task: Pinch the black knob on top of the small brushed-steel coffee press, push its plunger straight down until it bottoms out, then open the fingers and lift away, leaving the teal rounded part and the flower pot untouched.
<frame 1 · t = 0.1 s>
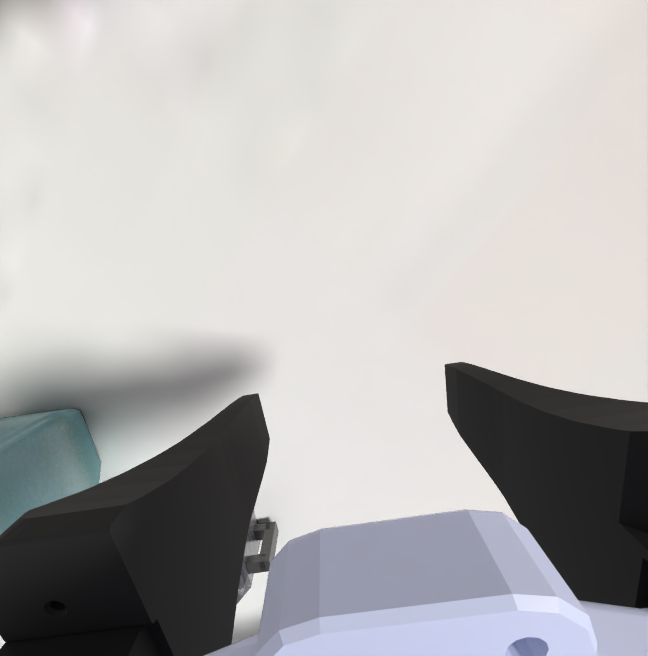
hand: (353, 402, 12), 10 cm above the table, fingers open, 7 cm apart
flower pot: (64, 437, 24), on the table
press pot: (214, 529, 26), on the table
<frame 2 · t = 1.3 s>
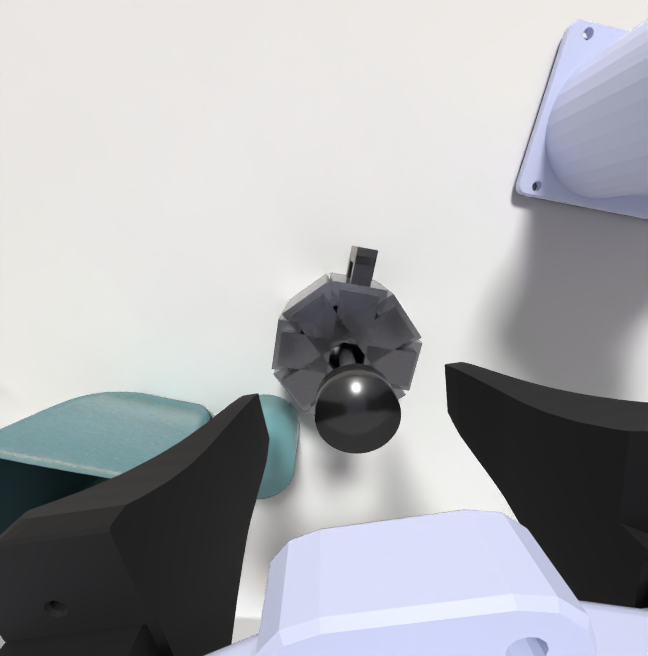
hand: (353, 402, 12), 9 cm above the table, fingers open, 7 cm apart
plunger: (350, 378, 14), point 7 cm above the table, slide at 0.0 cm
flower pot: (169, 425, 22), on the table
press pot: (341, 334, 20), on the table
teal rounded part: (267, 423, 22), on the table
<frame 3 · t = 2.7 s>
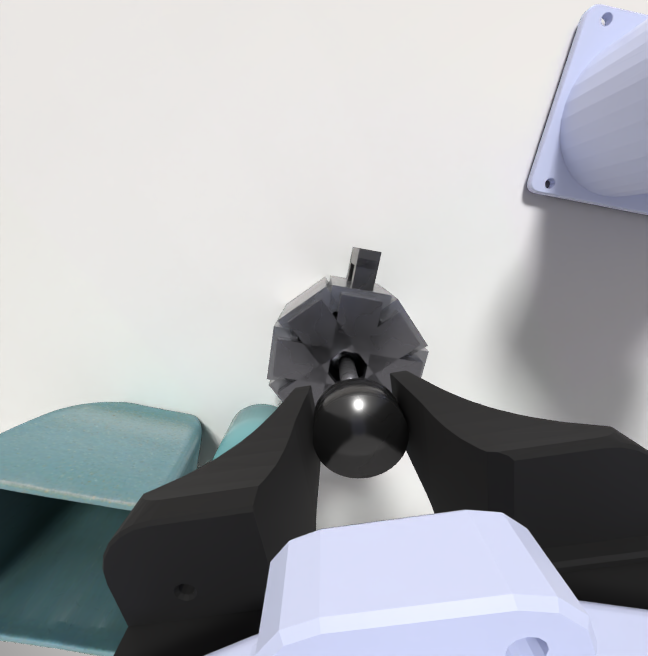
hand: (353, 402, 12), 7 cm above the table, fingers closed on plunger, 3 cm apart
plunger: (351, 391, 12), point 7 cm above the table, slide at 0.0 cm, touching gripper
flower pot: (160, 436, 21), on the table
press pot: (341, 340, 19), on the table
teal rounded part: (263, 434, 21), on the table
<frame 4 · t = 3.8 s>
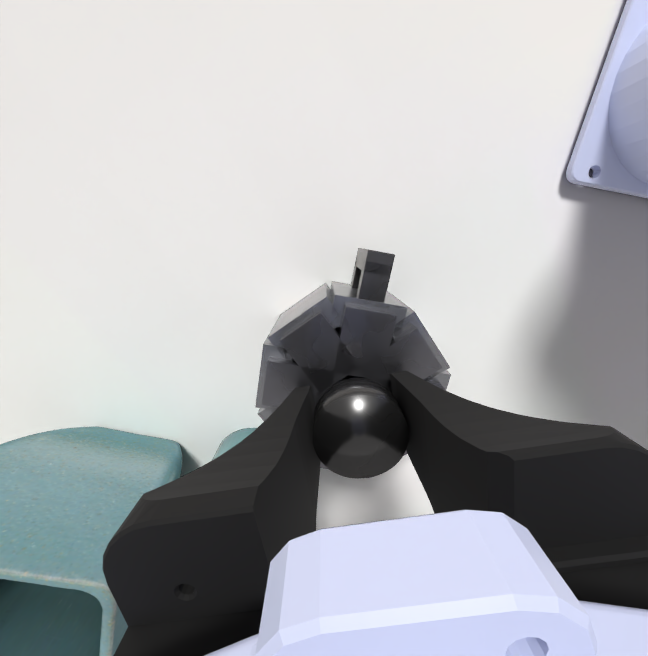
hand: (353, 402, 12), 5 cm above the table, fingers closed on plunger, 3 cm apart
plunger: (351, 391, 12), point 4 cm above the table, slide at 2.7 cm, touching gripper
flower pot: (137, 463, 18), on the table
press pot: (345, 356, 16), on the table
teal rounded part: (255, 461, 18), on the table
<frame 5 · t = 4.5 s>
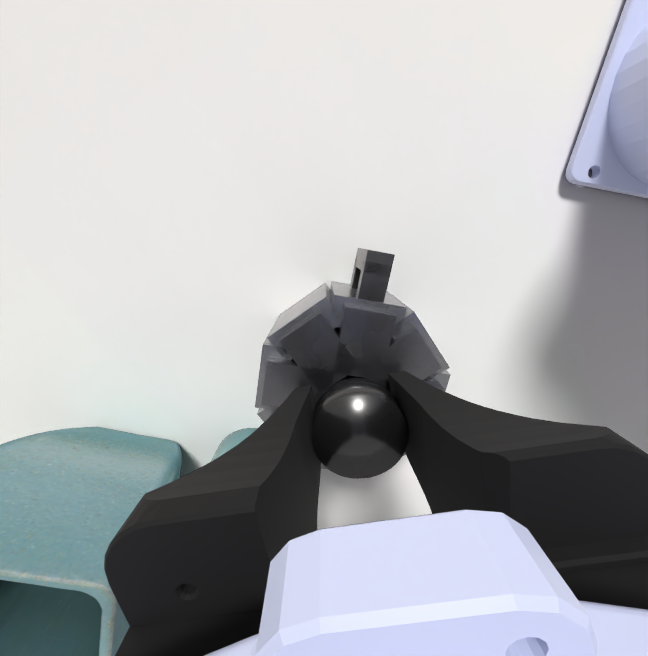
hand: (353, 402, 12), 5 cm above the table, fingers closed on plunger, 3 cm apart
plunger: (351, 391, 12), point 4 cm above the table, slide at 2.7 cm, touching gripper
flower pot: (136, 463, 18), on the table
press pot: (344, 356, 16), on the table
teal rounded part: (254, 461, 18), on the table
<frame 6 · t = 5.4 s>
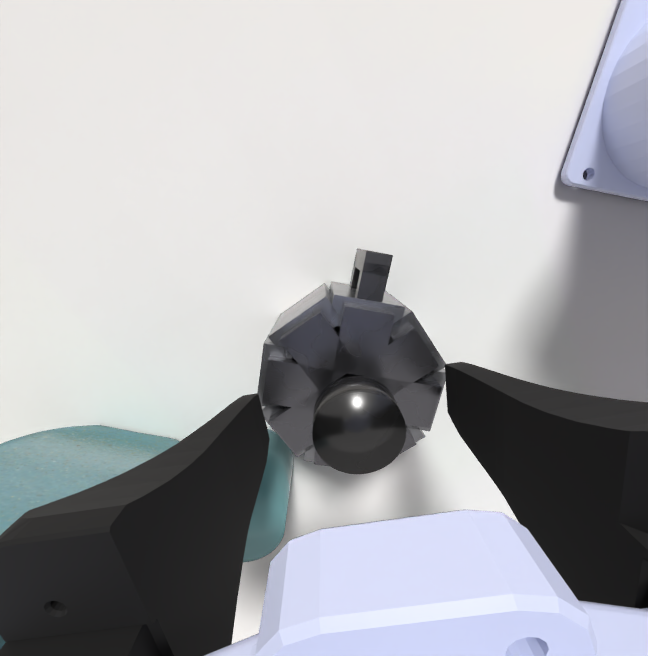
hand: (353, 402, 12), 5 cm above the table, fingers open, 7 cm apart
plunger: (350, 390, 13), point 4 cm above the table, slide at 2.7 cm
flower pot: (138, 461, 19), on the table
press pot: (344, 355, 16), on the table
teal rounded part: (255, 459, 18), on the table
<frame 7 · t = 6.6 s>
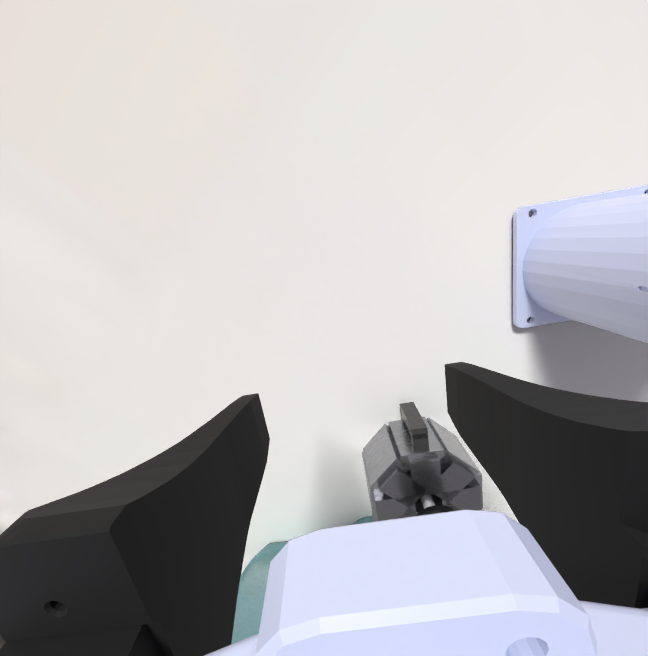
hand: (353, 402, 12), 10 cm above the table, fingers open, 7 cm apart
plunger: (426, 500, 21), point 4 cm above the table, slide at 2.7 cm
flower pot: (298, 556, 28), on the table
press pot: (410, 460, 25), on the table
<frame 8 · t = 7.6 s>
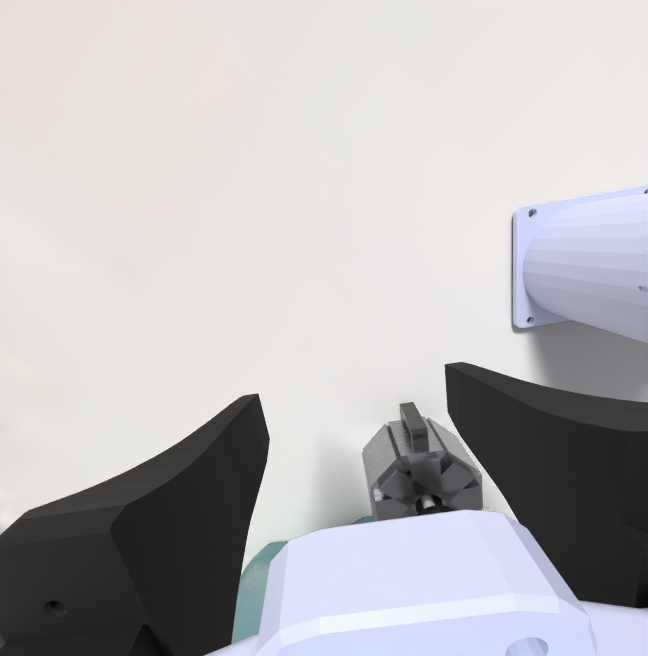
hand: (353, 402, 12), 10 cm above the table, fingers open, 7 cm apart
plunger: (426, 500, 21), point 4 cm above the table, slide at 2.7 cm
flower pot: (298, 556, 28), on the table
press pot: (410, 460, 25), on the table
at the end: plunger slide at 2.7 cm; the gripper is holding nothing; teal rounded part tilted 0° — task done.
